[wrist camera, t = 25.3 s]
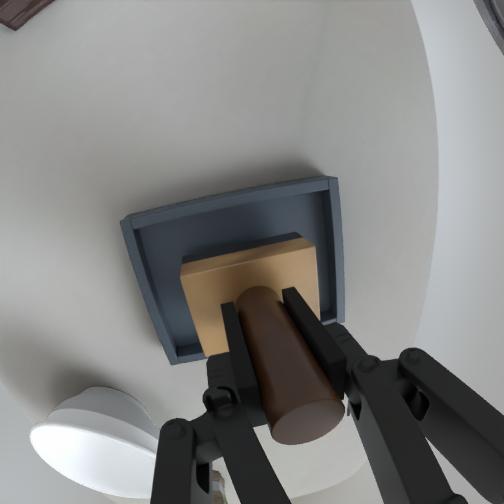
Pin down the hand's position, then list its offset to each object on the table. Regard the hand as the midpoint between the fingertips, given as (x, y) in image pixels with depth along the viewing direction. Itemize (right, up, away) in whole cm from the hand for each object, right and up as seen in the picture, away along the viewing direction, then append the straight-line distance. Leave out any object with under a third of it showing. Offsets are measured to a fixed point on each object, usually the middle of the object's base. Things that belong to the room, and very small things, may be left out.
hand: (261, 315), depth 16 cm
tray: (-1, +2, +7) cm, 7 cm away
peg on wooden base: (-1, +1, +4) cm, 4 cm away
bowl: (-16, -15, +9) cm, 24 cm away
